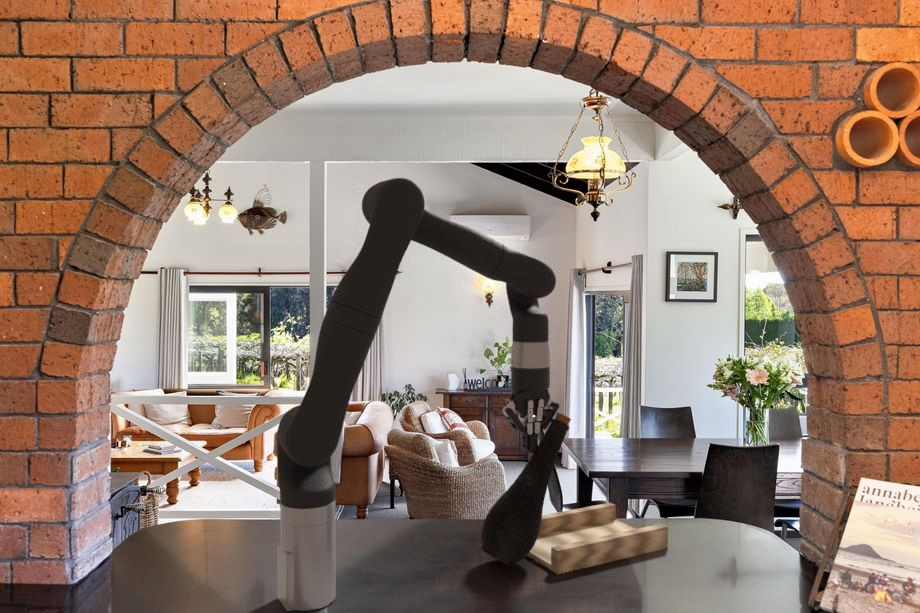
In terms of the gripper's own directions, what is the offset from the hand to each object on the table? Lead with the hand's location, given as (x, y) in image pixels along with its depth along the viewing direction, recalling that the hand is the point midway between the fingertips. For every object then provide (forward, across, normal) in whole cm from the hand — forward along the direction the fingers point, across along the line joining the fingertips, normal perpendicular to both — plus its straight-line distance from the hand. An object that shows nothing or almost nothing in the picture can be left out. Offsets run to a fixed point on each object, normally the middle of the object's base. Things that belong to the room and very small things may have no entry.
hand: (530, 452), depth 144 cm
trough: (+21, +14, 0) cm, 26 cm away
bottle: (+20, -8, 0) cm, 21 cm away
